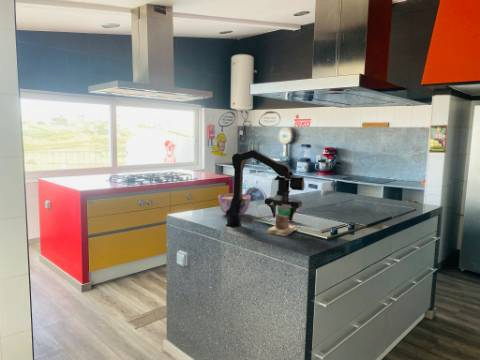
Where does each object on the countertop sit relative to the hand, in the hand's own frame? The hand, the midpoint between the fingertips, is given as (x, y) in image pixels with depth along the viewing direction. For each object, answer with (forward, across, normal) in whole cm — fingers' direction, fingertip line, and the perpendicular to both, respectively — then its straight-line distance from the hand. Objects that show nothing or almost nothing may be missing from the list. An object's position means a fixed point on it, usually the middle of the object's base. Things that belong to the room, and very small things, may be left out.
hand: (282, 218), depth 192 cm
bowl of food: (+7, -39, +17) cm, 43 cm away
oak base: (+7, 0, 0) cm, 7 cm away
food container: (+7, -9, +22) cm, 25 cm away
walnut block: (+5, 0, 0) cm, 5 cm away
